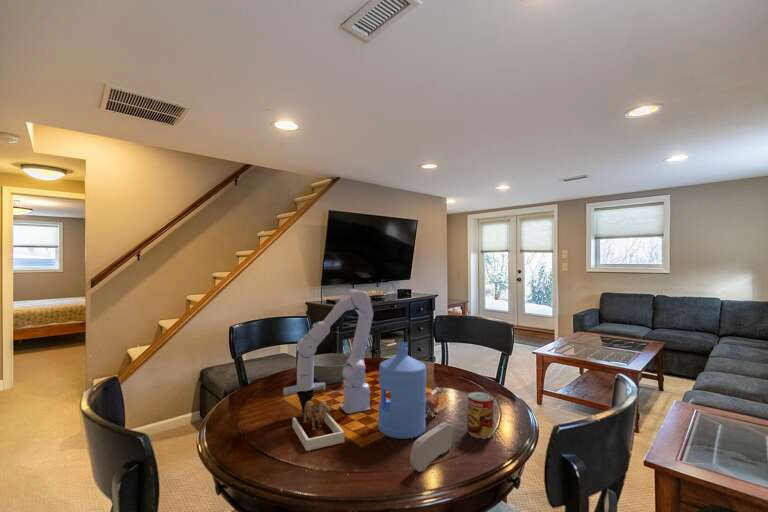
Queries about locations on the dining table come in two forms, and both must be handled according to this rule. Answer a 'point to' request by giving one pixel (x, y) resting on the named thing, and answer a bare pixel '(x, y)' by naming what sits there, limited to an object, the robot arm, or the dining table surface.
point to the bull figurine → (432, 401)
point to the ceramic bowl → (329, 367)
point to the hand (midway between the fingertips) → (304, 412)
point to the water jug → (402, 395)
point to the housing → (321, 440)
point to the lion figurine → (316, 412)
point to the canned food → (480, 413)
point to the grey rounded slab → (431, 446)
